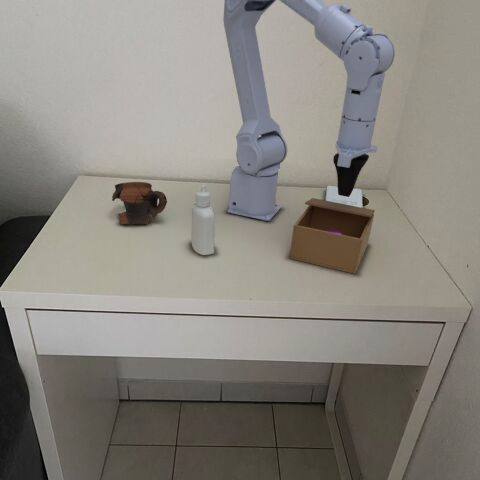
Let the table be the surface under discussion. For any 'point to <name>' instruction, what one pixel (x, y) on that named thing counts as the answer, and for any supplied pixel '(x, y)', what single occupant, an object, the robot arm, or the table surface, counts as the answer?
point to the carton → (330, 238)
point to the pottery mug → (139, 202)
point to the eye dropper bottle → (203, 223)
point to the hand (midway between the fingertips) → (344, 194)
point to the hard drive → (344, 197)
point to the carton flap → (340, 207)
